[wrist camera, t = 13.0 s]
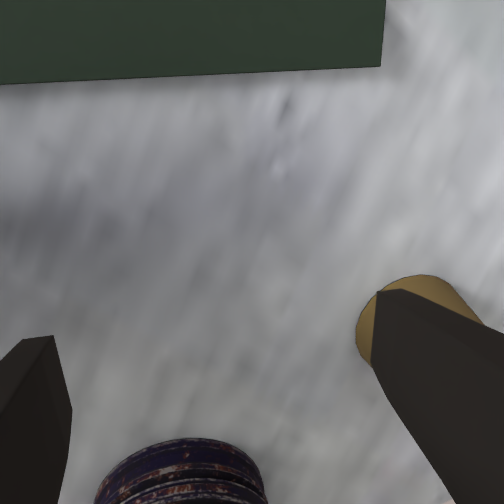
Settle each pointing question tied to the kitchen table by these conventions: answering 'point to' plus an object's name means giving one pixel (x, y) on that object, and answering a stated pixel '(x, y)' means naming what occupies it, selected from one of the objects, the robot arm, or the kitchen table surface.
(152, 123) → the kitchen table surface
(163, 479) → the storage jar
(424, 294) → the olive pawn
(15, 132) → the kitchen table surface
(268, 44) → the mat
